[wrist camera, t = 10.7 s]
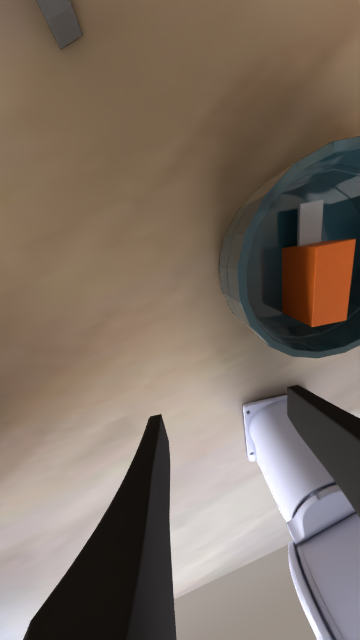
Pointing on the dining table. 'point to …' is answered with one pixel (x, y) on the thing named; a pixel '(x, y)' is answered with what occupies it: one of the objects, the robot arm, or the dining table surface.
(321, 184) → the bowl
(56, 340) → the dining table surface
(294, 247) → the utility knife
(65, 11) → the machine pistol
